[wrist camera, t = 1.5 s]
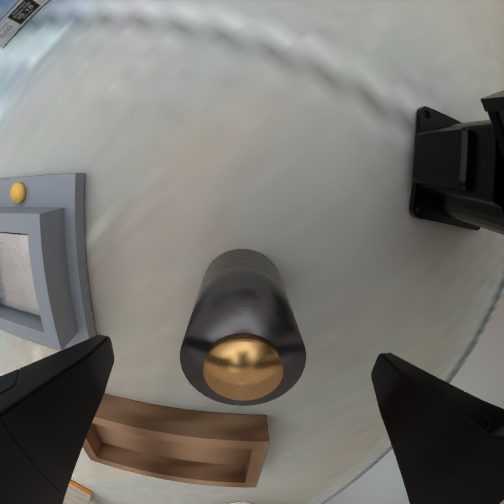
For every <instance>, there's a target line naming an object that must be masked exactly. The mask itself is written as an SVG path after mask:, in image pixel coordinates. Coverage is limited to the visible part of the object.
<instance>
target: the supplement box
mask: <svg viewBox="0 0 504 504" xmlns="http://www.w3.org/2000/svg"><path fill="white" fill-rule="evenodd" d="M91 495H92V492H91V491H89V490H87V489H86V488H84V487H82V486H80V485H79V484H77V483H75V482H73V481H72V480H70V482H69V485H68V488H67V492H66V495H65V496H64V497H65V498H64V502H63V504H89V501H90V498H91Z"/></svg>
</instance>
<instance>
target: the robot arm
mask: <svg viewBox="0 0 504 504" xmlns="http://www.w3.org/2000/svg"><path fill="white" fill-rule="evenodd" d="M481 102H482V104H483V107H484V109H485V111H486V112H488V115H489V118H490V120H485V121H476V122H468V123H461V122H459V121H457V120H455V119H453V118H451V117H449V116H447V115H445V114H442V113H440V112H438V111H436V110H433V109H431V108H429V107H426V106H424V107H421V108H419V109H418V110H417V126H416V136H415V152H414V165H413V176H412V178H413V183H412V192H411V200H410V207H409V210H410V214H411V215H412V216H414V217H416V218H420V219H426V220H431V221H436V222H441V223H445V224H450V225H455V226H459V227H464V228H468V229H473V230H479V229H480V227H482V228H485V229H488V230H491V231H494V232H497V233H500V234H503V235H504V90H503V91H500V92H497V93H495V94H492V95H489V96H487V97H484V98H481ZM424 112H425V114H426V116H427V118H425V116H424ZM418 205H419V211H418V212H417V206H418ZM113 363H114V354H113V349H112V343H111V339H110V338H109V337H108V336H104V335H96V336H94V337H91V338H89V339H87V340H85V341H82V342H80V343H78V344H75V345H73V346H71V347H69V348H66V349H64V350H62V351H59V352H57V353H55V354H52V355H50V356H48V357H45V358H43V359H41V360H38V361H36V362H34V363H31V364H29V365H27V366H24V367H22V368H20V370H19V369H17V370H15V371H13V372H10V373H8V374H5V375H3V376H0V504H63V502H64V498H65V497H64V496H65V495H66V492H67V488H68V485H69V482H70V480H71V477H72V474H73V471H74V468H75V465H76V463H77V460H78V457H79V454H80V452H81V449H82V447H83V444H84V441H85V439H86V436H87V434H88V431H89V429H90V427H91V424H92V422H93V419H94V417H95V415H96V412H97V410H98V408H99V405H100V403H101V400H102V398H103V395H104V392H105V389H106V385H107V382H108V379H109V376H110V373H111V370H112V366H113ZM371 378H372V382H373V386H374V390H375V394H376V398H377V402H378V406H379V410H380V413H381V416H382V419H383V422H384V424H385V427H386V430H387V433H388V436H389V439H390V441H391V444H392V447H393V450H394V453H395V456H396V459H397V462H398V465H399V469H400V471H401V475H402V478H403V481H404V485H405V488H406V492H407V494H408V498H409V502H410V504H504V409H502V408H500V407H497V406H495V405H492V404H490V403H488V402H485V401H483V400H481V399H479V398H477V397H475V396H472V395H470V394H469V393H467V392H464V391H463V390H461V389H459V388H456V387H454V386H453V385H451V384H449V383H447V382H445V381H443V380H441V379H439V378H437V377H435V376H433V375H431V374H429V373H428V372H426V371H424V370H422V369H420V368H418V367H416V366H414V365H412V364H410V363H409V362H407V361H405V360H403V359H401V358H399V357H397V356H395V355H394V354H392V353H381V354H379V355H378V357H377V360H376V362H375V365H374V367H373V370H372V373H371Z"/></svg>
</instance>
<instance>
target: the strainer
mask: <svg viewBox="0 0 504 504" xmlns="http://www.w3.org/2000/svg"><path fill="white" fill-rule="evenodd" d="M230 504H251V503H247V502H234V503H230Z"/></svg>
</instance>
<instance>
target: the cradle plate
mask: <svg viewBox="0 0 504 504" xmlns="http://www.w3.org/2000/svg"><path fill="white" fill-rule="evenodd" d="M0 303H1V304H3V305H6V306H9V307H12V308H15V309H19V310H22V311H25V312H29V313H32V314H35V315H39V316H40V312H39V308H38V303H37V299H36V294H35V288H34V283H33V277H32V270H31V263H30V255H29V246H28V234H21V233H9V232H0Z"/></svg>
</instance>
